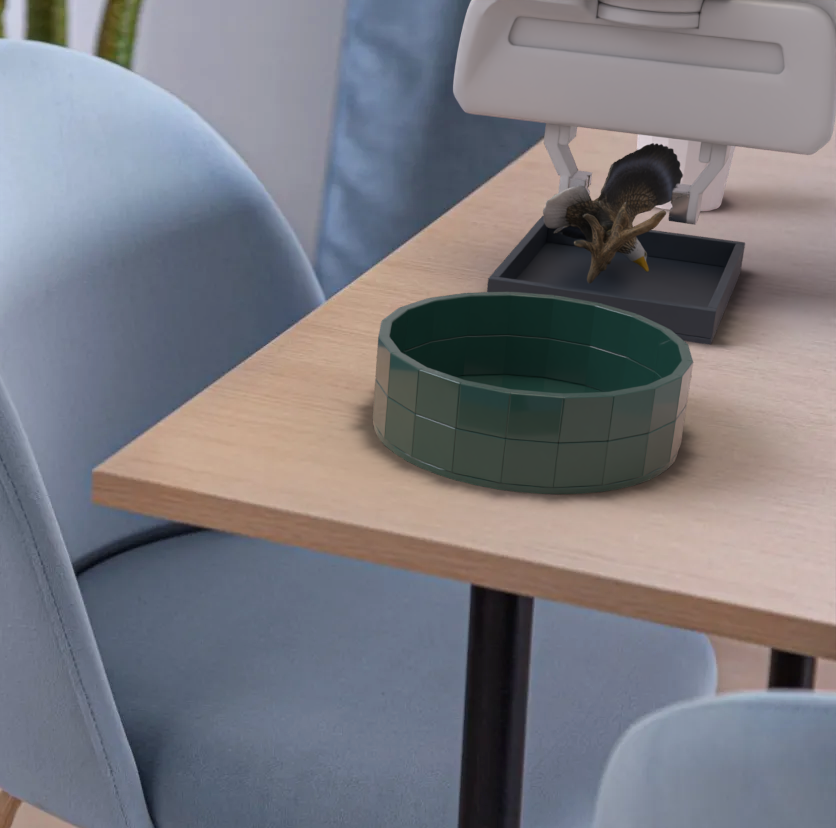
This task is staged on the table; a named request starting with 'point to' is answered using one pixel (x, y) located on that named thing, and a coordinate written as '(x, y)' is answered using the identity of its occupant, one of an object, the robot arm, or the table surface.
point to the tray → (632, 277)
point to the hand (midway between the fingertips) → (626, 213)
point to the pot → (530, 392)
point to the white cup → (692, 168)
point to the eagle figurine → (617, 207)
